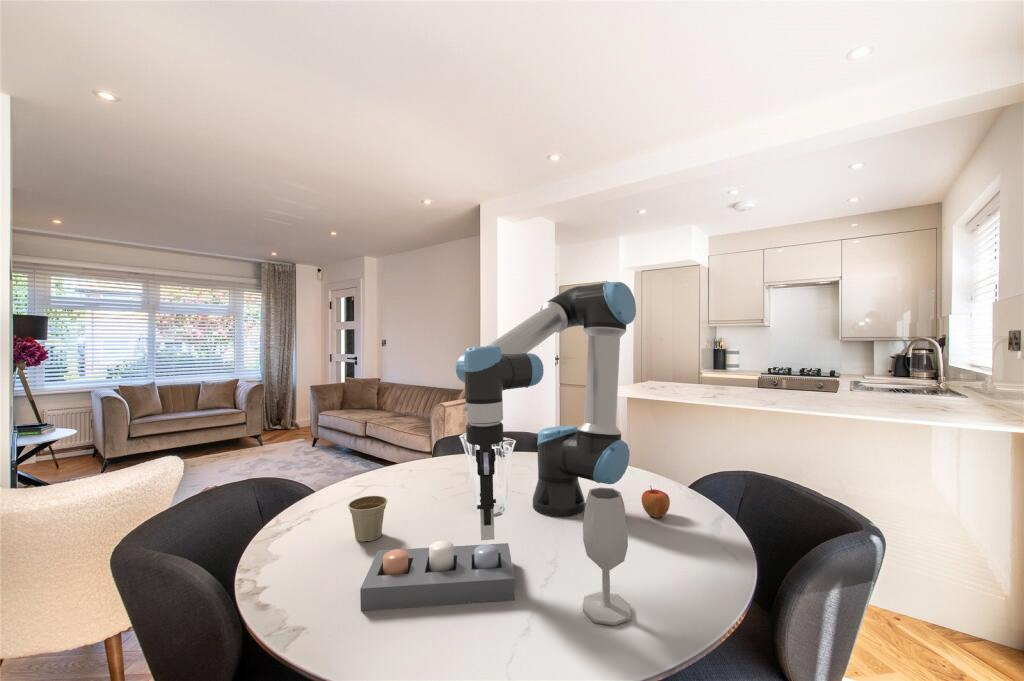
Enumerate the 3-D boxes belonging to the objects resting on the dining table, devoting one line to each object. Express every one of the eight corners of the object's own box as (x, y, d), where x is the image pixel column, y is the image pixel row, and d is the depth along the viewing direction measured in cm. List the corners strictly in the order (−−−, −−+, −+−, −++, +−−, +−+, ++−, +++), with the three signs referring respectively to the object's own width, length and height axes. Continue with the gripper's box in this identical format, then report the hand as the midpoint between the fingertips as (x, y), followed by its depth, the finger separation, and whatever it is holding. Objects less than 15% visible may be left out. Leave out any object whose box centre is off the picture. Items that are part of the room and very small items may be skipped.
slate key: (497, 562, 88) (497, 543, 88) (499, 575, 83) (498, 555, 83) (474, 564, 87) (474, 545, 87) (474, 577, 82) (474, 556, 82)
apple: (661, 524, 110) (660, 493, 110) (636, 516, 115) (636, 486, 115) (675, 516, 115) (674, 487, 115) (650, 508, 120) (650, 480, 120)
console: (508, 561, 92) (508, 543, 92) (514, 600, 78) (514, 578, 78) (378, 569, 90) (378, 550, 90) (360, 610, 76) (360, 588, 76)
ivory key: (454, 559, 87) (453, 539, 87) (453, 571, 82) (452, 551, 82) (430, 560, 86) (430, 541, 86) (428, 573, 82) (427, 552, 82)
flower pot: (375, 547, 100) (375, 510, 100) (340, 544, 102) (339, 508, 102) (394, 530, 109) (394, 496, 109) (361, 527, 111) (361, 494, 111)
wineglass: (576, 597, 79) (574, 485, 79) (621, 594, 80) (620, 483, 80) (589, 629, 70) (587, 503, 70) (639, 625, 71) (637, 501, 71)
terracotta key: (410, 568, 86) (409, 548, 86) (406, 581, 81) (405, 560, 81) (386, 569, 86) (385, 550, 86) (380, 583, 81) (380, 562, 81)
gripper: (466, 417, 91) (469, 525, 92) (465, 430, 78) (468, 556, 79) (500, 415, 92) (503, 523, 92) (505, 428, 79) (508, 553, 79)
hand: (487, 538), depth 85 cm, fingers closed
